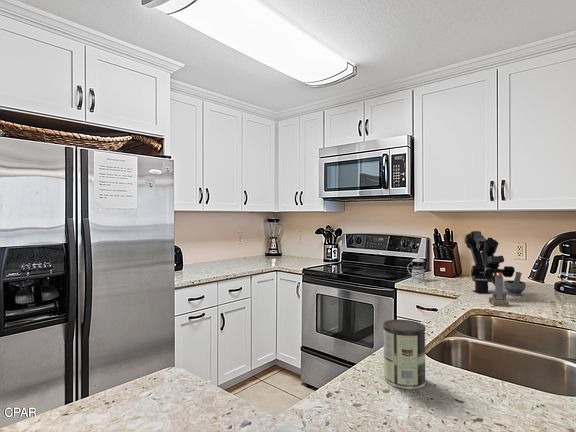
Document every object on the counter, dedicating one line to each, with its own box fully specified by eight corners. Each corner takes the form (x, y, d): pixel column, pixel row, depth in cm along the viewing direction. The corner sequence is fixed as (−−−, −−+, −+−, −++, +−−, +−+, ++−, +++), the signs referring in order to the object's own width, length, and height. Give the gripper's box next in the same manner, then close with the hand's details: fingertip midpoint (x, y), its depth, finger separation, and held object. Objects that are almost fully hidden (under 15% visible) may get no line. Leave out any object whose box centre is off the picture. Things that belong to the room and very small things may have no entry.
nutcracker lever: (494, 297, 167) (494, 272, 168) (501, 297, 167) (501, 272, 167) (496, 298, 165) (496, 273, 165) (503, 298, 164) (503, 273, 164)
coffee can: (408, 369, 96) (408, 317, 96) (434, 386, 86) (434, 329, 86) (375, 374, 93) (375, 320, 93) (398, 392, 83) (398, 332, 83)
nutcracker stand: (488, 302, 172) (488, 290, 172) (502, 302, 170) (502, 291, 170) (494, 306, 164) (493, 294, 164) (508, 306, 163) (508, 294, 163)
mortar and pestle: (520, 297, 181) (520, 274, 182) (501, 294, 189) (500, 272, 189) (529, 295, 188) (529, 272, 188) (510, 292, 195) (510, 270, 196)
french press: (425, 283, 221) (425, 244, 221) (406, 282, 226) (406, 243, 226) (427, 281, 230) (426, 243, 230) (408, 279, 235) (408, 242, 235)
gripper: (471, 249, 178) (478, 274, 167) (513, 250, 173) (522, 275, 162) (468, 263, 185) (473, 287, 174) (507, 264, 181) (516, 289, 170)
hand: (496, 285), depth 170 cm, fingers closed
